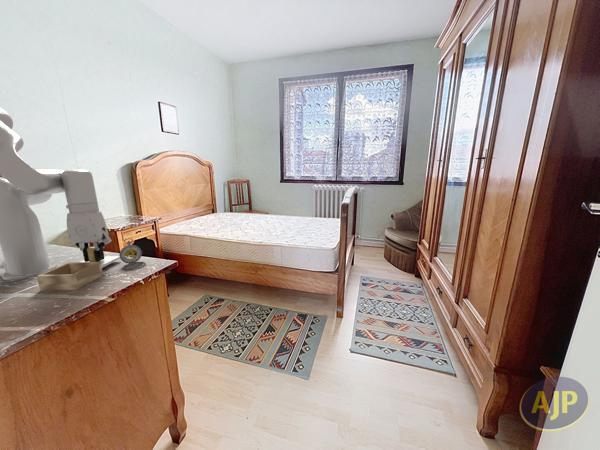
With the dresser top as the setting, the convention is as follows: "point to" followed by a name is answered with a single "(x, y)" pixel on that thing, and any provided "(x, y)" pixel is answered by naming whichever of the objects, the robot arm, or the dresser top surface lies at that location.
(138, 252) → the pocket watch
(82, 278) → the keepsake box
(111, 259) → the lid
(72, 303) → the dresser top surface
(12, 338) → the dresser top surface
